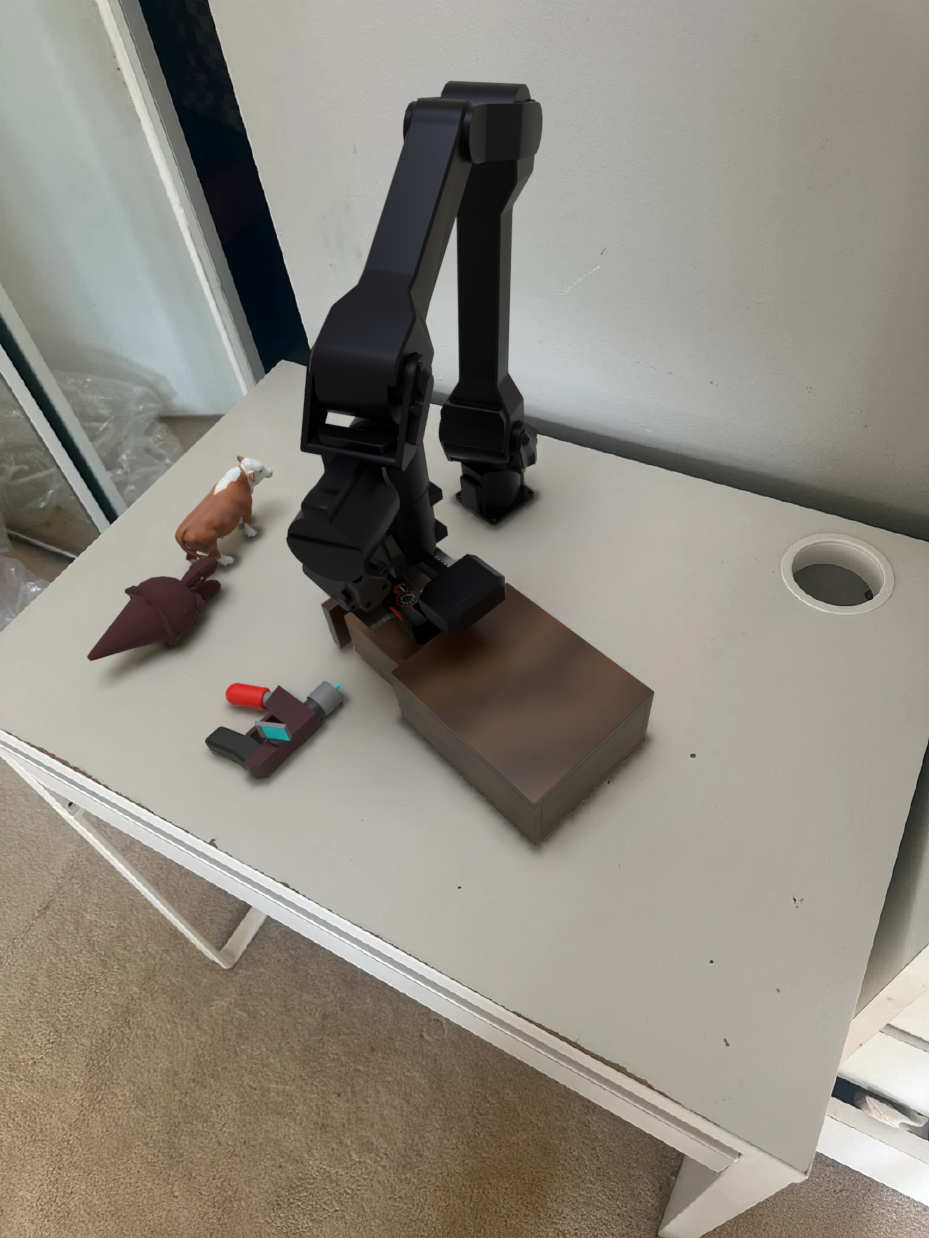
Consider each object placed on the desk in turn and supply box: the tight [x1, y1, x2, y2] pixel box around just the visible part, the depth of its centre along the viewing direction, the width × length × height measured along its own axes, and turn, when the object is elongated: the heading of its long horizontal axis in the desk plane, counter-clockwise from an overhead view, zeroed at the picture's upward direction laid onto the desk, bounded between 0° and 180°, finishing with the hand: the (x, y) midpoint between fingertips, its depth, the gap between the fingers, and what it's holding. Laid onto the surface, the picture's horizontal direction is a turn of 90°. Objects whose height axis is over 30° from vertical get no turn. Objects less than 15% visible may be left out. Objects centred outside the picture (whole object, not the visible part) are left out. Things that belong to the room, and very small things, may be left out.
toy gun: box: [204, 680, 344, 779], centre depth 71 cm, size 10×12×5 cm
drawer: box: [320, 566, 437, 687], centre depth 74 cm, size 20×12×6 cm, turn 43°
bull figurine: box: [174, 455, 274, 567], centre depth 84 cm, size 4×13×8 cm, turn 148°
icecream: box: [86, 557, 222, 662], centre depth 77 cm, size 7×7×15 cm
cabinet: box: [390, 582, 655, 846], centre depth 67 cm, size 17×14×8 cm
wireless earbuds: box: [381, 575, 438, 645], centre depth 72 cm, size 5×7×3 cm, turn 38°
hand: (417, 611), depth 72 cm, fingers closed on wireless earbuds, 7 cm apart
